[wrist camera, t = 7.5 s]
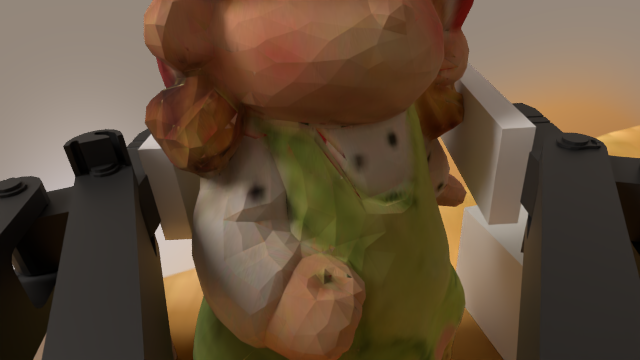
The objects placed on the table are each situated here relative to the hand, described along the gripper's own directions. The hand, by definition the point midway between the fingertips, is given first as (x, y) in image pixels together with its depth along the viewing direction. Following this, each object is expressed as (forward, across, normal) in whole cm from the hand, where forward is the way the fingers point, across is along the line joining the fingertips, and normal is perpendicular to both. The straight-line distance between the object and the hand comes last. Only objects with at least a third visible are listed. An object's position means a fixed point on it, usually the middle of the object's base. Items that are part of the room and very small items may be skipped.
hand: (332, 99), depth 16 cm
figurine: (-5, 0, -11) cm, 12 cm away
